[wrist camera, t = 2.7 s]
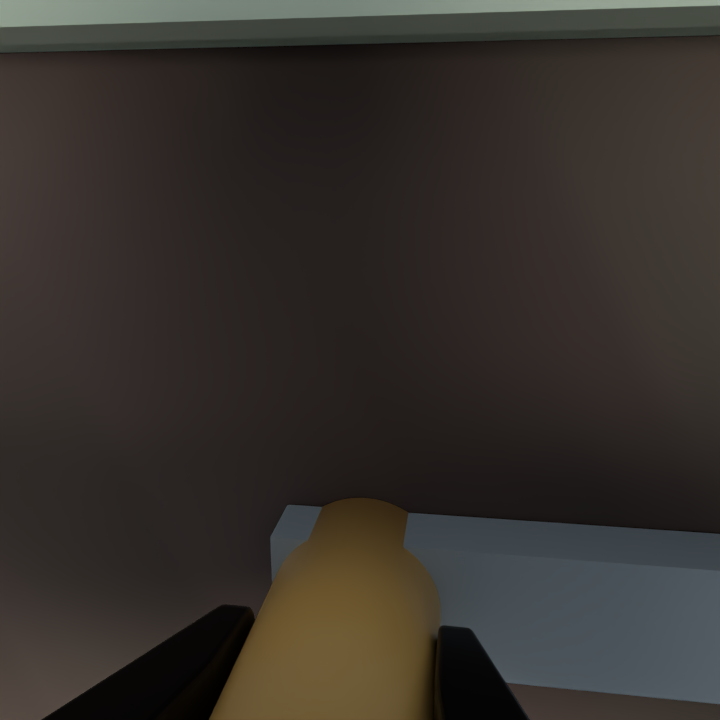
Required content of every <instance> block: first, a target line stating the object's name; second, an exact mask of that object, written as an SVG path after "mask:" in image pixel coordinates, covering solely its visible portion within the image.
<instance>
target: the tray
mask: <svg viewBox="0 0 720 720" xmlns="http://www.w3.org/2000/svg"><path fill="white" fill-rule="evenodd" d="M704 35H720V0H0V53H13V52H54V51H94V50H135V49H176V48H216V47H257V46H298V45H338V44H379V43H420V42H460V41H501V40H541V39H582V38H623V37H663V36H704Z"/></svg>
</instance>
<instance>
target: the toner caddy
mask: <svg viewBox="0 0 720 720" xmlns="http://www.w3.org/2000/svg"><path fill="white" fill-rule="evenodd" d="M270 546H271V574H272V585H271V587H270V590H269V592H268V594H267V596H266V598H265V600H264V602H263V605H262V607H261V609H260V611H259V613H258V615H257V617H256V619H255V622H254V624H253V626H252V628H251V630H250V632H249V634H248V637H247V639H246V641H245V643H244V645H243V647H242V649H241V652H240V654H239V656H238V658H237V660H236V662H235V664H234V667H233V669H232V671H231V673H230V675H229V677H228V679H227V682H226V684H225V686H224V688H223V690H222V692H221V694H220V696H219V699H218V701H217V703H216V705H215V707H214V709H213V711H212V714H211V716H210V718H209V720H433V711H434V683H435V666H436V652H437V637H438V629H439V627H440V626H442V625H447V626H458V627H468V628H470V629H471V630H472V631H473V632H474V633H475V635H476V637H477V638H478V640H479V641H480V643H481V644H482V646H483V648H484V649H485V651H486V652H487V654H488V655H489V657H490V658H491V660H492V662H493V663H494V665H495V666H496V668H497V669H498V671H499V673H500V674H501V676H502V677H503V679H504V680H505V682H506V683H513V684H523V685H533V686H543V687H553V688H563V689H573V690H583V691H593V692H603V693H613V694H623V695H633V696H643V697H653V698H663V699H673V700H683V701H693V702H703V703H713V704H720V534H714V533H699V532H684V531H669V530H655V529H640V528H625V527H611V526H596V525H581V524H566V523H552V522H537V521H522V520H507V519H493V518H478V517H463V516H449V515H434V514H419V513H408V512H407V511H405V510H403V509H402V508H400V507H398V506H396V505H393V504H391V503H388V502H385V501H381V500H377V499H371V498H348V499H342V500H338V501H334V502H332V503H329V504H327V505H325V506H323V507H316V506H301V505H287V507H286V508H285V510H284V512H283V514H282V516H281V518H280V520H279V522H278V523H277V525H276V527H275V529H274V531H273V533H272V535H271V537H270Z"/></svg>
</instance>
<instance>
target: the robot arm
mask: <svg viewBox="0 0 720 720" xmlns="http://www.w3.org/2000/svg"><path fill="white" fill-rule="evenodd" d="M254 622H255V619H254V613H253V611H252V609H251V608H250V607H247V606H236V605H221V606H219V607H217V608H216V609H214V610H212V611H211V612H209V613H208V614H206V615H205V616H203V617H201V618H200V619H198V620H197V621H195V622H194V623H192V624H191V625H189V626H187V627H186V628H184V629H183V630H181V631H180V632H178V633H176V634H175V635H173V636H172V637H170V638H169V639H167V640H165V641H164V642H162V643H161V644H159V645H158V646H156V647H155V648H153V649H151V650H150V651H148V652H147V653H145V654H144V655H142V656H140V657H139V658H137V659H136V660H134V661H133V662H131V663H129V664H128V665H126V666H125V667H123V668H122V669H120V670H118V671H117V672H115V673H114V674H112V675H111V676H109V677H108V678H106V679H104V680H103V681H101V682H100V683H98V684H97V685H95V686H93V687H92V688H90V689H89V690H87V691H86V692H84V693H82V694H81V695H79V696H78V697H76V698H75V699H73V700H72V701H70V702H68V703H67V704H65V705H64V706H62V707H61V708H59V709H57V710H56V711H54V712H53V713H51V714H50V715H48V716H46V717H45V718H43V719H42V720H209V718H210V716H211V714H212V711H213V709H214V707H215V705H216V703H217V701H218V699H219V696H220V694H221V692H222V690H223V688H224V686H225V684H226V682H227V679H228V677H229V675H230V673H231V671H232V669H233V667H234V664H235V662H236V660H237V658H238V656H239V654H240V652H241V649H242V647H243V645H244V643H245V641H246V639H247V637H248V634H249V632H250V630H251V628H252V626H253V624H254ZM433 720H530V719H529V718H528V716H527V715H526V713H525V712H524V710H523V708H522V707H521V705H520V704H519V702H518V701H517V699H516V698H515V696H514V694H513V693H512V691H511V690H510V688H509V687H508V685H507V683H506V682H505V680H504V679H503V677H502V676H501V674H500V673H499V671H498V669H497V668H496V666H495V665H494V663H493V662H492V660H491V658H490V657H489V655H488V654H487V652H486V651H485V649H484V648H483V646H482V644H481V643H480V641H479V640H478V638H477V637H476V635H475V633H474V632H473V631H472V630H471V629H470V628H468V627H458V626H447V625H442V626H440V627H439V629H438V637H437V652H436V666H435V683H434V711H433Z"/></svg>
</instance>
